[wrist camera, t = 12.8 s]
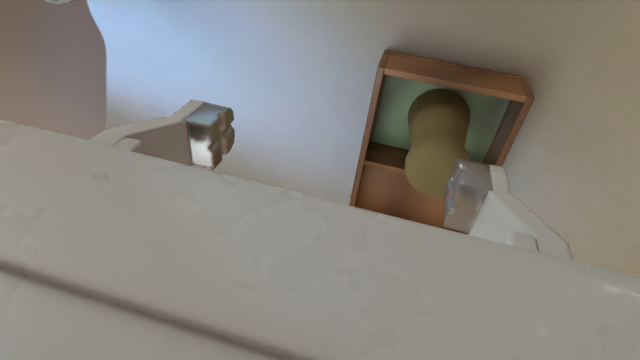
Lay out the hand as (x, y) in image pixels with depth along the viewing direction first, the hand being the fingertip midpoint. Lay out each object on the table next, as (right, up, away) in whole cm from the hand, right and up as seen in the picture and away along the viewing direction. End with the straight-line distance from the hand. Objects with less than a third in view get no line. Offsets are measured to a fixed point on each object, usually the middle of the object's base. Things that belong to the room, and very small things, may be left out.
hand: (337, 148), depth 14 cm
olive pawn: (+11, +5, +25) cm, 28 cm away
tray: (+11, +2, +29) cm, 31 cm away
